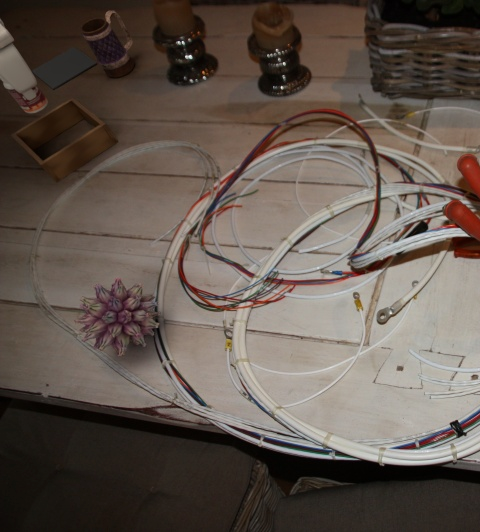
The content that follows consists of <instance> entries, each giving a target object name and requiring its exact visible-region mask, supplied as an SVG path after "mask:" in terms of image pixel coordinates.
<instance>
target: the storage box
mask: <svg viewBox="0 0 480 532" xmlns="http://www.w3.org/2000/svg"><path fill="white" fill-rule="evenodd" d="M83 120H85V121H87V122H88V123H89V124H91V126H93V127H94V128H92V129H91V130H89V131H87V132H86V133H84V134H83V135H81V136H80V137H78V138H77V139H75V140H73V141H72V142H70V143H69V144H66V146H64V147H63V148H61V149H59V150H58V151H56V152H55V153H53V154H52V155H50V156H49V157H47V158H45V159H44V160H43V159H42V158H40V156H39V155H38V154H37V153H36V152H35V150H37V149H39V148H40V147H41V146H43V145H44V144H46V143H48V142H50V141H51V140H53V139H54V138H56V137H57V136H59V135H61V134H62V133H63V132H65V131H67V130H68V129H70V128H72V127H73V126H75V125H76V124H78V123H79V122H81V121H83ZM10 136H11V137H12V138H13V139H14V140H15V142H16V143H18V145H19V146H20V147H21V148H22V149H23V150H24V151H25V153H27V155H28V156H30V157H31V159H33V161H35V162H36V163H37V164H38V165H39V166H40V167H41V168H42V169H43V170H44V171H45V172H46V173H47V174H48V175H49V177H51V178H52V179H53V180H54V181H55V182H56V183H58V182H60V181H61V180H63V179H64V178H66V177H68V175H71V174H72V173H74V172H75V171H77V170H78V169H80V168H81V167H83V166H84V165H85V164H87V163H88V162H90V161H91V160H93V159H94V158H96V157H98V156H99V155H101V154H102V153H103V152H105V151H106V150H108V149H109V148H111V147H113V146H114V145H115V144H117V143H118V142H119V141H118V139H117V138H116V137H115V135H114V134H113V133H112V131H111V129H109V127H108V125H107V124H106V123H105V122H104V121H103V120H101V119H100V118H99V117H98V116H97V115H95V114H94V113H93V112H92V111H91V110H89V109H88V108H87V107H86V106H84V105H83V104H81V103H80V102H79V101H78V100H77V99H76V98H74V97H71V98H69V99H68V100H66V101H64V102H62V103H61V104H59V105H57V106H56V107H54V108H52V109H51V110H48V112H46V113H44V114H42V115H41V116H39V117H37V118H36V119H34V120H33V121H32V122H30V123H28V124H26V125H24V126H23V127H21V128H20V129H18V130H16V131H14V132H13V133H11V135H10Z"/></svg>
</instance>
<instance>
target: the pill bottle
mask: <svg viewBox="0 0 480 532" xmlns="http://www.w3.org/2000/svg"><path fill="white" fill-rule="evenodd" d="M0 81H2V85H3V87H4V89H5V90H6V91H7V92H8V93H9V94H10V96H11V97H12V98H13V99H14V100H15V101H16V103H17V104H18V106H20V109H22V111H24V112H25V113H27V114H36V113H39V112H41V111H43V110H44V109H45V108H46V107H47V106H48V103H49V101H48V99H47V97H46V96H45V95H44V93H43V92H42V91H41V89H40V87H38V84H37V85H36V86H35V87H33V88H31V89H32V90H33V91H34V92H35V94H36V97H35V98H33V99H32V100H27V99H26V98H25V97H24V96H23V94H22V93H19V92H17V91H16V90H15V89H14V88H13V87H12V86H11V85H10V84H9V83H8V82H7V81H5V80H4V79H3V78H2V77H1V76H0Z"/></svg>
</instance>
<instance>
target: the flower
mask: <svg viewBox="0 0 480 532" xmlns="http://www.w3.org/2000/svg"><path fill="white" fill-rule="evenodd" d="M144 287H145V285H144V284H143V283H141V282H140V283H134V285H133V286H132V287H130V288H128V289H127V288H126V287H125V285H124V283H123V282H122V278H121V277H117V278H115V279H114V283H112V284H111V289H110V290H109V289H108V288H105V287H104V286H103V285H102V284H100V283H98V284H96V285H94V286H93V289H94V290H95V295H96V297H86V296H83V295H82V296H81V297H80V299H79V301H80V302H81V303H80V305H79V309H82V311H84V313H85V314H84V315H82V316H81V317H79V318H75V319H73V322H74V324H82V325H84V326H83V327H81V328H79V332H80V333H82V334H83V333H86V334H85V335H84V336H83V337H82V338H81V342H84V343H85V342H88V340H89V341H90V340H94V339H95V342H94V344H93V346H92V347H93V348H94V350H98V351H100V352H103V351H104V350H105V348H108V347H109V346H111V347H112V348H113V349H114V350H115V351H116V355H117V357H120V356H121V357H123V356H125V352H126V351H127V350H128V349H127V348H128V346H129V344H130V342H131V343H133V344H134V345H135V346H138V345H140V346H141V347H143V348H144V347H145V348H146V347H147V345H148V343H147V342H146V341H145V336H147V335H149V336H151V337H153V336H155V334H154V333H155V332H154V331H153V329H158V328H159V326H160V323H159V322H157V321H155V320H154V318H156V317H159V316H160V315H161V312H160V311H154V309H155V308H156V307H158V306H159V301H153V300H154V299H155V298H156V295H155V293H151V294H150V295H144V291H143V289H144Z"/></svg>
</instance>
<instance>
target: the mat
mask: <svg viewBox="0 0 480 532" xmlns="http://www.w3.org/2000/svg"><path fill="white" fill-rule="evenodd" d="M97 65H98V62H96V61H95V60H94V59H92V58H90V57H89V56H88V55H86V53H84V52H82V51H81V50H80V49H78V48H77V47H75V46H72V47H70V48H69V49H67V50H65V51H64V52H62V53H60V54H58V55H57V56H54V57H53V58H51V59H50V60H48V61H46V62H44V63H43V64H41V65H39V66H37V67H36V68H33V69H32V70H31V72H32V73H33V75H34V76H35V77H37V78H39V80H41V81H42V82H43V83H45V85H47V86H48V87H49V88H50V89H52V90H53V91H55V90H57V89H58V88H60V87H62V86H63V85H65V84H67V83H68V82H70V81H72V80H73V79H75V78H77V77H78V76H80V75H82V74H83V73H86V72H88V70H90V69H92V68H94V67H95V66H97Z"/></svg>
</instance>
